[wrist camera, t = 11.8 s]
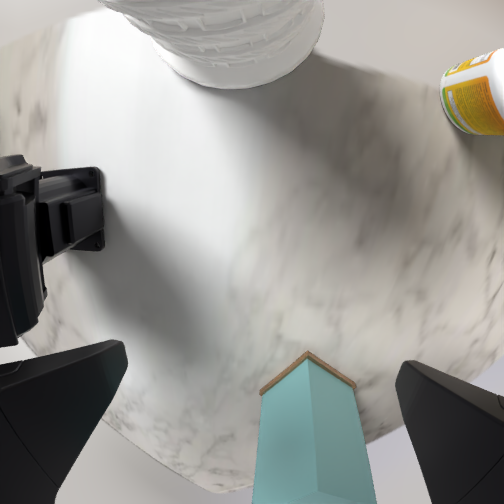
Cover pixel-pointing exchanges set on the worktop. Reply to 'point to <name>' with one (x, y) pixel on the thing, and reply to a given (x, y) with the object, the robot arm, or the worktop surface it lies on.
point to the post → (299, 361)
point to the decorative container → (228, 36)
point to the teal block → (311, 443)
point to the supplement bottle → (476, 94)
